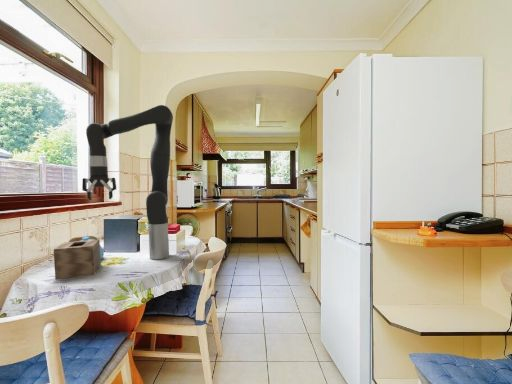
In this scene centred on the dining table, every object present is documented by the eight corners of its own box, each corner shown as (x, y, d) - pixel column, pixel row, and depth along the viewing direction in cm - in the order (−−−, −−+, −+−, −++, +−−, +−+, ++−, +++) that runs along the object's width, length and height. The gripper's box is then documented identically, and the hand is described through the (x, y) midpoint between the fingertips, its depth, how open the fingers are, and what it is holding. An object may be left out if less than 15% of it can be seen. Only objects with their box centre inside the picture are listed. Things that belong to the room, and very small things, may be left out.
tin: (67, 253, 156) (66, 238, 156) (68, 252, 159) (67, 237, 159) (98, 250, 162) (98, 235, 162) (99, 249, 165) (98, 234, 165)
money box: (100, 264, 134) (99, 239, 133) (94, 274, 121) (92, 246, 120) (65, 268, 130) (64, 242, 129) (55, 278, 116) (53, 249, 116)
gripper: (116, 166, 144) (117, 198, 145) (83, 166, 139) (85, 199, 140) (113, 165, 137) (115, 199, 138) (79, 165, 132) (81, 200, 133)
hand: (100, 199), depth 139 cm, fingers open, 8 cm apart
